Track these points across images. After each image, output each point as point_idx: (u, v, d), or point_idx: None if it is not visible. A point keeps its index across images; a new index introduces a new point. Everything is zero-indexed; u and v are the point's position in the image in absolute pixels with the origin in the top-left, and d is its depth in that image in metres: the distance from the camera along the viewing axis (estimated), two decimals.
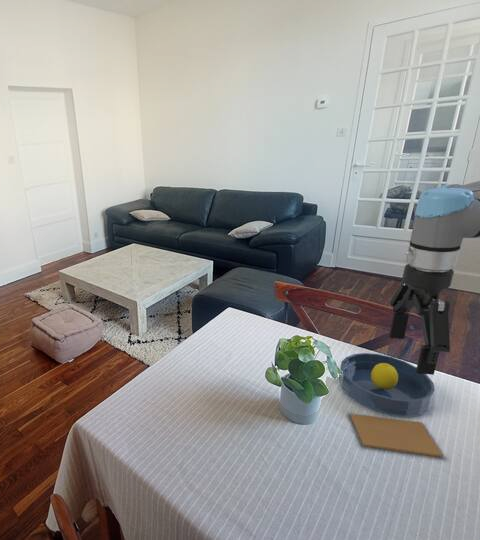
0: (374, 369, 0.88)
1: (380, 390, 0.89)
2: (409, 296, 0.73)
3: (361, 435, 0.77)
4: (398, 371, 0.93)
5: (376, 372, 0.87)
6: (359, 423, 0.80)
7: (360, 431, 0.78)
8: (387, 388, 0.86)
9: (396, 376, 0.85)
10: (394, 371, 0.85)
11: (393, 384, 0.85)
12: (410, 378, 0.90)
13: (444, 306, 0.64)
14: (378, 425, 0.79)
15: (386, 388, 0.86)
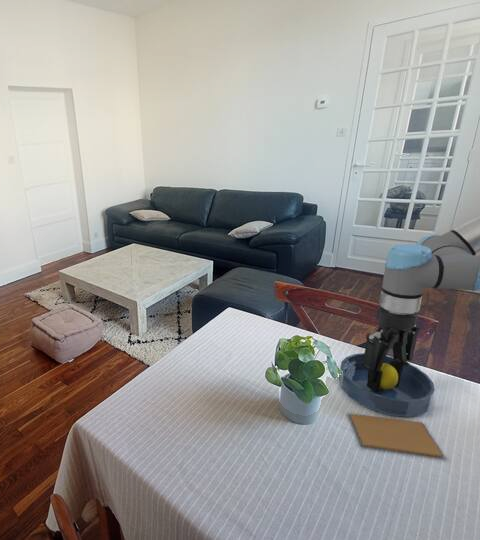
0: None
1: (380, 390, 0.89)
2: None
3: (361, 435, 0.77)
4: None
5: None
6: (359, 423, 0.80)
7: (360, 431, 0.78)
8: (387, 388, 0.86)
9: (396, 376, 0.85)
10: (394, 371, 0.85)
11: (393, 384, 0.85)
12: (410, 378, 0.90)
13: (372, 340, 0.82)
14: (378, 425, 0.79)
15: (386, 388, 0.86)
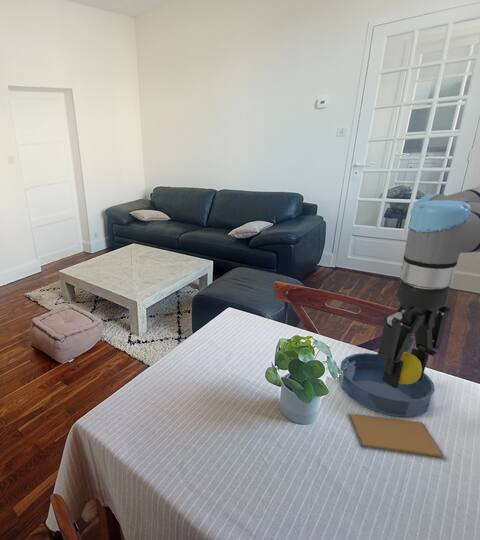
0: None
1: (380, 390, 0.89)
2: None
3: (361, 435, 0.77)
4: None
5: None
6: (359, 423, 0.80)
7: (360, 431, 0.78)
8: (408, 382, 0.70)
9: (420, 368, 0.69)
10: (417, 361, 0.69)
11: (416, 377, 0.69)
12: None
13: (391, 323, 0.66)
14: (378, 425, 0.79)
15: (407, 382, 0.71)
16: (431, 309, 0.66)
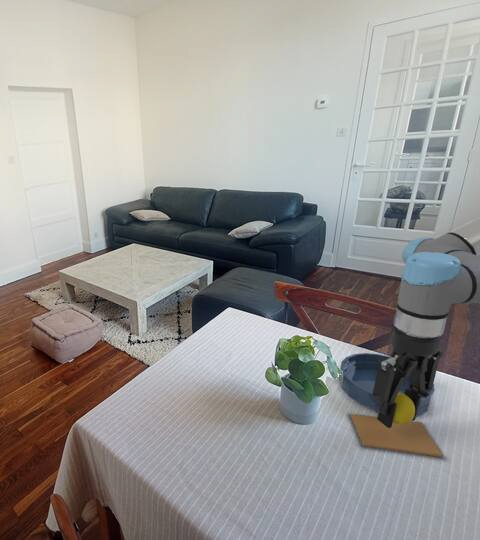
0: None
1: None
2: None
3: (361, 435, 0.77)
4: None
5: None
6: (359, 423, 0.80)
7: (360, 431, 0.78)
8: (402, 423, 0.73)
9: (413, 409, 0.71)
10: (410, 403, 0.71)
11: (409, 419, 0.72)
12: None
13: (385, 368, 0.68)
14: (378, 425, 0.79)
15: (401, 423, 0.73)
16: None
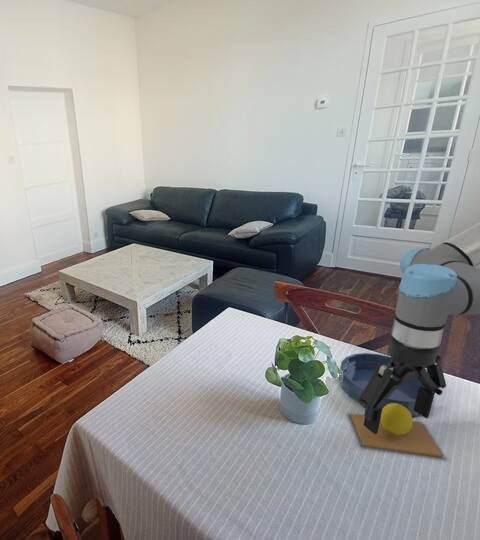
0: (384, 410, 0.75)
1: None
2: None
3: (361, 435, 0.77)
4: None
5: (387, 414, 0.74)
6: (359, 423, 0.80)
7: (360, 431, 0.78)
8: (399, 433, 0.74)
9: (410, 420, 0.72)
10: (408, 414, 0.72)
11: (407, 429, 0.73)
12: None
13: (383, 372, 0.68)
14: None
15: (398, 433, 0.74)
16: None
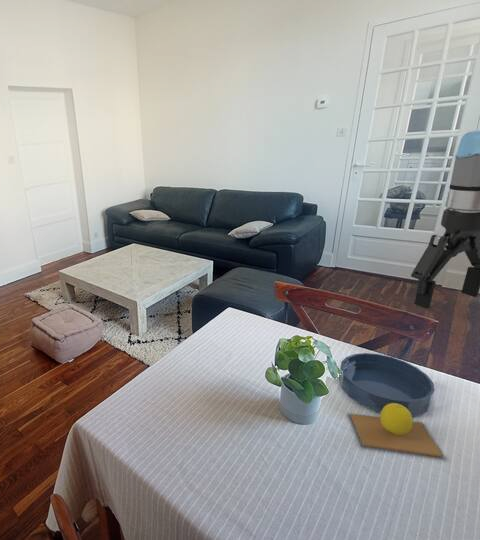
0: (384, 410, 0.75)
1: (380, 390, 0.89)
2: None
3: (361, 435, 0.77)
4: (398, 371, 0.93)
5: (387, 414, 0.74)
6: (359, 423, 0.80)
7: (360, 431, 0.78)
8: (399, 433, 0.74)
9: (410, 420, 0.72)
10: (408, 414, 0.72)
11: (407, 429, 0.73)
12: (410, 378, 0.90)
13: (439, 240, 0.71)
14: (378, 425, 0.79)
15: (398, 433, 0.74)
16: None
